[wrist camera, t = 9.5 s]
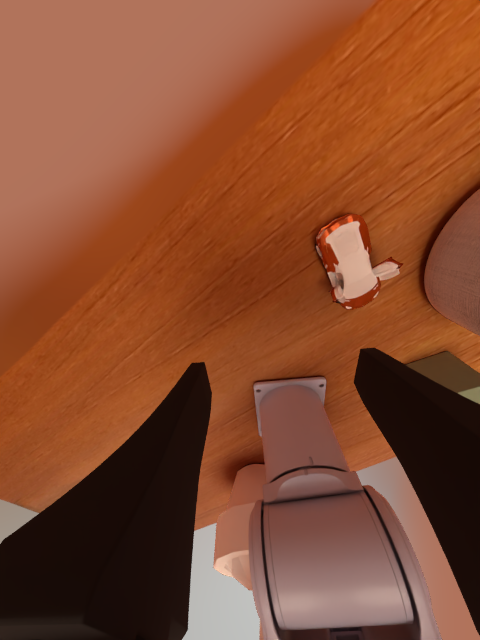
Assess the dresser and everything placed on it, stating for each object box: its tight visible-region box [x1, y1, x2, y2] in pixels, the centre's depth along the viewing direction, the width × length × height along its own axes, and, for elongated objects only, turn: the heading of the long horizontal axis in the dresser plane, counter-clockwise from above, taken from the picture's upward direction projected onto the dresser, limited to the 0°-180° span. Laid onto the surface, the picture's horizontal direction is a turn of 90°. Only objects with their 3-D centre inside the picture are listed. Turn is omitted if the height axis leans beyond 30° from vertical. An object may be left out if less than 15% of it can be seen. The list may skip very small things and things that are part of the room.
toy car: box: [315, 214, 403, 309], centre depth 16 cm, size 5×8×3 cm, turn 28°
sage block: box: [406, 351, 480, 404], centre depth 21 cm, size 4×4×4 cm
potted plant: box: [214, 464, 267, 640], centre depth 22 cm, size 13×12×25 cm
